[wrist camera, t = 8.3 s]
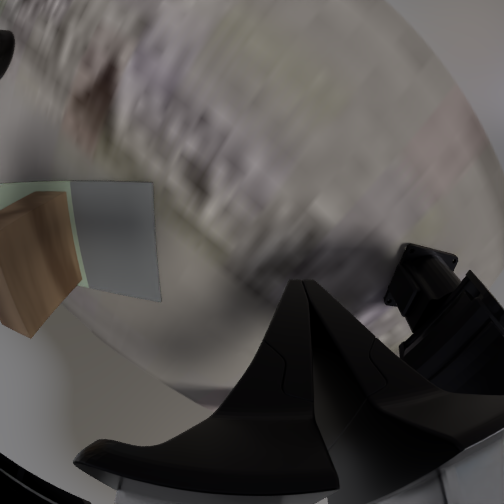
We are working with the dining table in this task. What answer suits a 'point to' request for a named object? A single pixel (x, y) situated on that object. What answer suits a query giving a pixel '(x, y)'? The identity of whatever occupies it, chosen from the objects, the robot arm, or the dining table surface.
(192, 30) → the dining table surface
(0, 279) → the t block
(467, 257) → the dining table surface
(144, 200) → the mat
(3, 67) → the supplement bottle
